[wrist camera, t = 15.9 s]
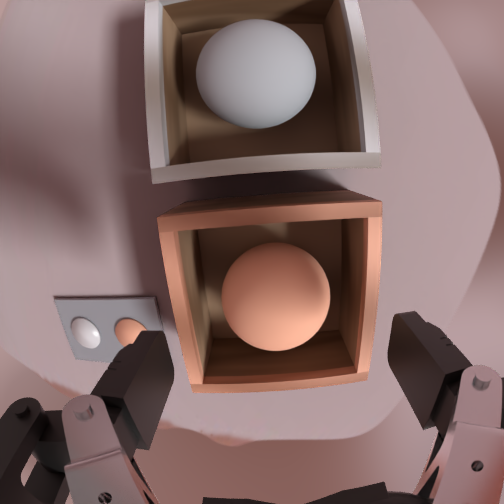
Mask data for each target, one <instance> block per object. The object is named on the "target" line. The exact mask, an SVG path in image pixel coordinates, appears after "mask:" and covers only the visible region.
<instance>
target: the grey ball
mask: <svg viewBox="0 0 504 504" xmlns="http://www.w3.org/2000/svg"><path fill="white" fill-rule="evenodd" d="M196 80H197V86H198V89H199V92H200V95H201V97H202V99H203V100H204V102H205V103H206V105H207V106H208V107H209V108H210V109H211V111H212V112H214V113H215V114H216V115H217V116H218V117H220V118H221V119H223V120H225V121H227V122H229V123H231V124H234V125H236V126H240V127H244V128H252V129H261V128H269V127H273V126H276V125H279V124H281V123H284V122H286V121H287V120H289V119H291V118H292V117H294V116H295V115H296V114H297V113H298V112H299V111H301V110H302V109H303V107H304V106H305V105H306V104H307V102H308V100H309V99H310V97H311V94H312V92H313V89H314V85H315V80H316V68H315V63H314V59H313V56H312V54H311V52H310V50H309V48H308V46H307V45H306V44H305V42H304V41H303V40H302V39H301V38H300V37H299V36H298V35H297V34H296V33H295V32H294V31H292V30H291V29H289V28H287V27H286V26H284V25H281V24H279V23H276V22H273V21H268V20H262V19H249V20H242V21H239V22H235V23H232V24H230V25H228V26H226V27H224V28H222V29H221V30H219V31H218V32H217V33H215V34H214V35H213V36H212V37H211V38H210V39H209V40H208V42H207V43H206V44H205V46H204V47H203V49H202V51H201V53H200V55H199V59H198V62H197V67H196Z"/></svg>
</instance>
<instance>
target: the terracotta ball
mask: <svg viewBox="0 0 504 504" xmlns="http://www.w3.org/2000/svg"><path fill="white" fill-rule="evenodd" d="M221 300H222V307H223V312H224V315H225V318H226V320H227V322H228V323H229V325H230V327H231V328H232V330H233V331H234V332H235V333H236V334H237V335H238V336H239V337H240V338H241V339H242V340H244V341H245V342H247V343H248V344H250V345H252V346H254V347H257V348H260V349H264V350H270V351H282V350H287V349H291V348H294V347H297V346H299V345H301V344H303V343H304V342H306V341H308V340H309V339H310V338H311V337H313V336H314V335H315V333H316V332H317V331H318V330H319V329H320V327H321V326H322V324H323V322H324V321H325V318H326V316H327V313H328V309H329V305H330V288H329V283H328V280H327V277H326V274H325V272H324V270H323V269H322V267H321V266H320V264H319V263H318V262H317V260H316V259H315V258H314V257H313V256H311V255H310V254H309V253H308V252H306V251H304V250H303V249H301V248H299V247H296V246H294V245H291V244H287V243H279V242H277V243H265V244H261V245H258V246H256V247H253V248H251V249H249V250H248V251H246V252H245V253H243V254H242V255H241V256H240V257H239V258H238V259H237V260H236V261H235V262H234V263H233V264H232V265H231V267H230V269H229V270H228V272H227V274H226V276H225V279H224V282H223V286H222V295H221Z"/></svg>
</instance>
